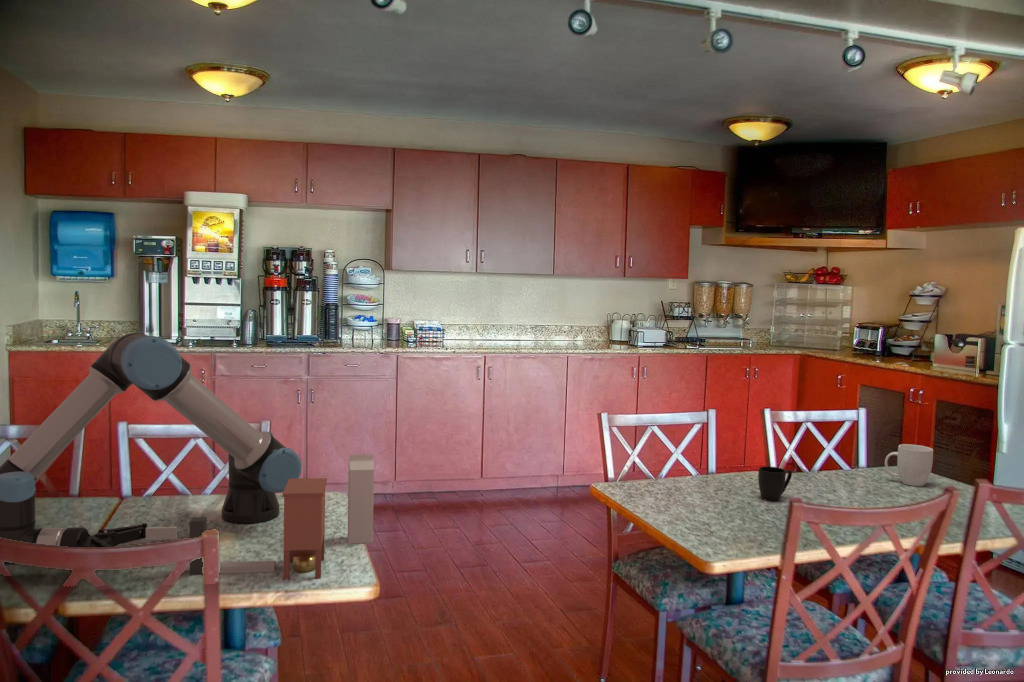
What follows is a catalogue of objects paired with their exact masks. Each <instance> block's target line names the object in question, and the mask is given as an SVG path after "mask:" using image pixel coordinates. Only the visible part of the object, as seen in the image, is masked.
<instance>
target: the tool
mask: <svg viewBox="0 0 1024 682" xmlns="http://www.w3.org/2000/svg"><path fill="white" fill-rule="evenodd" d="M206 530H207V531H208V517H207V516H194V517H191V519H190V520H189V539H190V538H194V537H199V536H201V535H202V533H203V532H204V531H206ZM219 562H220V574H219V575H222V574H250V573H251V574H254V573H275V570H276V568H277V560H258V561H257V560H254V561H219ZM202 567H203V562H202V558H200V559H196V560H194V561H192V562H191V563H190V562H189V575H190V576H191V575H203V574H202Z"/></svg>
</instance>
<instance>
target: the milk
mask: <svg viewBox="0 0 1024 682" xmlns="http://www.w3.org/2000/svg"><path fill="white" fill-rule="evenodd" d="M348 457H349V461H348V473H347V474H348V477H347V478H348V480H347V483H348V485H347V486H348V487H347V491H348V492H347V541H348V544H349V545H351V544H355V545H356V544H371V543H373V542H374V541H373V540H374V536H373V535H374V493H375V492H374V491H375V490H374V489H375V487H374V486H375V485H374V484H375V468H374V467H375V466H374V454H373V453H370V454H369V453H365V454H363V453H361V454H349V455H348ZM363 541H364V543H363Z"/></svg>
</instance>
